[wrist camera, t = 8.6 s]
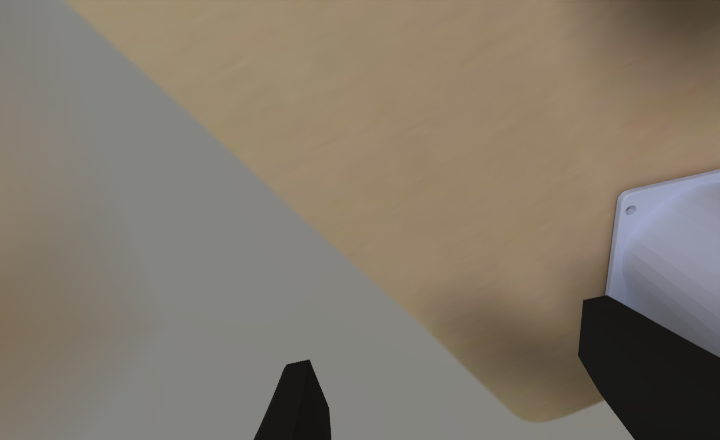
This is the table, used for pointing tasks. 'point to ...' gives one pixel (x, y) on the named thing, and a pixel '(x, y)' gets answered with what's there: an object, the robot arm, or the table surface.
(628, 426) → the robot arm
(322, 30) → the table surface
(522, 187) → the table surface
